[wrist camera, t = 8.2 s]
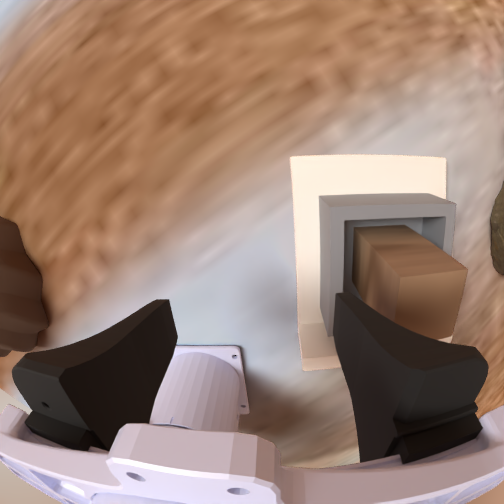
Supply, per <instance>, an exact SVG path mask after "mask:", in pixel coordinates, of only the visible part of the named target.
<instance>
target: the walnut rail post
mask: <svg viewBox="0 0 504 504" xmlns="http://www.w3.org/2000/svg"><path fill="white" fill-rule="evenodd" d="M467 272H468V269H467V268H466V267H464V266H463V265H462V264H460V263H459V262H458V261H456V260H455V259H454V258H452V257H451V256H450V255H448V254H447V253H446V252H444V251H443V250H441V249H440V248H439V247H437V246H436V245H434V244H433V243H431V242H430V241H429V240H427V239H426V238H424V237H423V236H421V235H420V234H418V233H417V232H415V231H414V230H412V229H411V228H409V227H408V226H406V225H386V226H367V227H353V263H352V282H353V284H354V286H355V287H356V289H357V291H358V293H359V295H360V296H361V298H362V300H363V302H364V303H366V304H367V305H368V306H370V307H371V308H373V309H374V310H376V311H377V312H378V313H380V314H382V315H383V316H385V317H386V318H388V319H390V320H391V321H393V322H395V323H397V324H398V325H400V326H402V327H405V328H407V329H409V330H411V331H413V332H416V333H418V334H421V335H424V336H426V337H429V338H432V339H436V340H439V339H443V338H447V337H451V336H452V332H453V329H454V326H455V322H456V319H457V315H458V311H459V307H460V303H461V299H462V295H463V291H464V286H465V282H466V277H467Z"/></svg>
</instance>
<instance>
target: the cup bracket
mask: <svg viewBox="0 0 504 504" xmlns="http://www.w3.org/2000/svg"><path fill="white" fill-rule="evenodd" d="M290 167H291V181H292V196H293V213H294V231H295V252H296V279H297V320H298V337H299V345H300V352H301V360H302V369H303V371H310V370H321V369H331V368H339V367H341V364H340V361H339V358H338V355H337V352H336V347H335V342H334V337H333V323H334V310H335V294H336V293H344V292H350V293H352V294H353V295H355V296H356V297H357V298H359V299H360V300H362V298H361V296H360V295H359V293H358V291H357V289H356V287H355V286H354V284H353V282H352V263H353V227H367V226H386V225H406V226H408V227H409V228H411V229H412V230H414V231H415V232H417V233H418V234H420V235H421V236H423V237H424V238H426V239H427V240H429V241H430V242H431V243H433V244H434V245H436V246H437V247H439V248H440V249H441V250H443V251H444V252H446V253H447V254H448V255H450V256H451V252H452V245H453V236H454V227H455V216H456V203H453V202H451V201H448V200H446V158H441V157H427V156H408V155H373V154H345V155H308V156H290ZM362 301H363V300H362ZM452 337H453V335H452V336H451V337H447V338H443V339H439V341H443V342H447V343H451V340H452Z"/></svg>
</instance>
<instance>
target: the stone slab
mask: <svg viewBox="0 0 504 504" xmlns="http://www.w3.org/2000/svg"><path fill="white" fill-rule="evenodd" d="M491 226H492V246H491V256H492V258H493V265H494V267H495V269H496V270H497V271H498V272H499V273H500V274H502V275H504V183H503V188H502V190H501V191H500V193H499V195H498V196H497V198H496V199H495V204H494V207H493V211H492V216H491Z"/></svg>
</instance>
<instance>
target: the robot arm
mask: <svg viewBox="0 0 504 504" xmlns="http://www.w3.org/2000/svg"><path fill="white" fill-rule="evenodd" d="M333 337H334V342H335V347H336V352H337V355H338V358H339V361H340V364H341V367H342V370H343V373H344V376H345V379H346V382H347V385H348V388H349V391H350V395H351V399H352V404H353V410H354V415H355V422H356V429H357V436H358V445H359V454H360V463H356V464H350V465H344V466H337V467H329V468H320V469H313V468H298V467H287V466H281V454H280V452H279V450H278V449H277V447H276V446H275V444H274V443H272V442H270V441H268V440H266V439H263V438H261V437H259V436H257V435H252V434H245V433H239V432H238V425H239V416H240V414H248V413H249V411H250V409H249V403H248V397H247V391H246V384H245V378H244V372H243V365H242V359H241V352H240V349H239V347H237V346H176V343H177V339H178V335H177V331H176V327H175V323H174V319H173V315H172V311H171V306H170V302H169V299H163V300H155V301H152V302H151V303H149V304H147V305H146V306H144V307H142V308H141V309H139V310H138V311H136V312H135V313H133V314H131V315H130V316H128V317H127V318H125V319H124V320H122V321H120V322H118V323H117V324H115V325H113V326H112V327H110V328H108V329H106V330H104V331H102V332H100V333H98V334H96V335H94V336H92V337H89V338H87V339H84V340H81V341H79V342H76V343H73V344H70V345H67V346H63V347H60V348H56V349H51V350H46V351H39V352H33V353H27V354H25V355H24V356H23V358H22V359H21V360H20V361H19V362H18V363H17V364H16V365H15V366H14V367H13V369H12V377H13V380H14V383H15V385H16V386H17V388H18V390H19V391H20V393H21V394H22V396H23V398H24V399H25V400H26V402H27V403H28V405H29V406H30V408H31V409H32V410H33V411H32V412H31V413H30V415H28V414H27V413H26V412H25V411H23V410H21V409H19V408H17V407H15V406H13V405H10V404H8V405H7V406H6V408H5V409H4V410H3V411H2V413H1V414H0V461H1V462H2V463H3V464H4V465H5V466H6V467H8V468H9V469H10V470H11V471H12V472H13V473H14V474H15V475H16V476H18V477H19V478H21V479H22V480H24V481H25V482H27V483H29V484H30V485H32V486H34V487H35V488H37V489H39V490H40V491H42V492H44V493H45V494H47V495H49V496H51V497H52V498H54V499H56V500H57V501H59V502H61V503H63V504H466V503H468V502H469V501H471V500H473V499H475V498H477V497H479V496H480V495H482V494H484V493H486V492H488V491H489V490H491V489H493V488H494V487H496V486H497V485H498V484H500V483H501V482H502V481H503V480H504V405H502V406H500V407H498V408H496V409H494V410H492V411H489V412H487V413H486V414H484V415H483V416H481V417H480V418H479V419H478V418H477V416H476V414H475V412H477V410H478V407H477V405H476V403H475V402H474V401H475V399H476V397H477V395H478V394H479V392H480V390H481V388H482V386H483V384H484V382H485V380H486V377H487V374H488V368H489V367H488V363H487V361H486V360H485V359H484V357H483V356H482V355H481V353H480V352H479V351H478V350H477V348H476V347H471V346H464V345H457V344H451V343H447V342H443V341H439V340H436V339H432V338H429V337H426V336H424V335H421V334H418V333H416V332H413V331H411V330H409V329H407V328H405V327H402V326H400V325H398V324H397V323H395V322H393V321H391V320H390V319H388V318H386V317H385V316H383V315H382V314H380V313H378V312H377V311H376V310H374V309H373V308H371V307H370V306H368V305H367V304H366V303H364V302H363V301H362V300H360V299H359V298H357V297H356V296H355V295H353V294H352V293H350V292H344V293H336V294H335V310H334V323H333ZM233 355H237V356H233Z"/></svg>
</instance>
